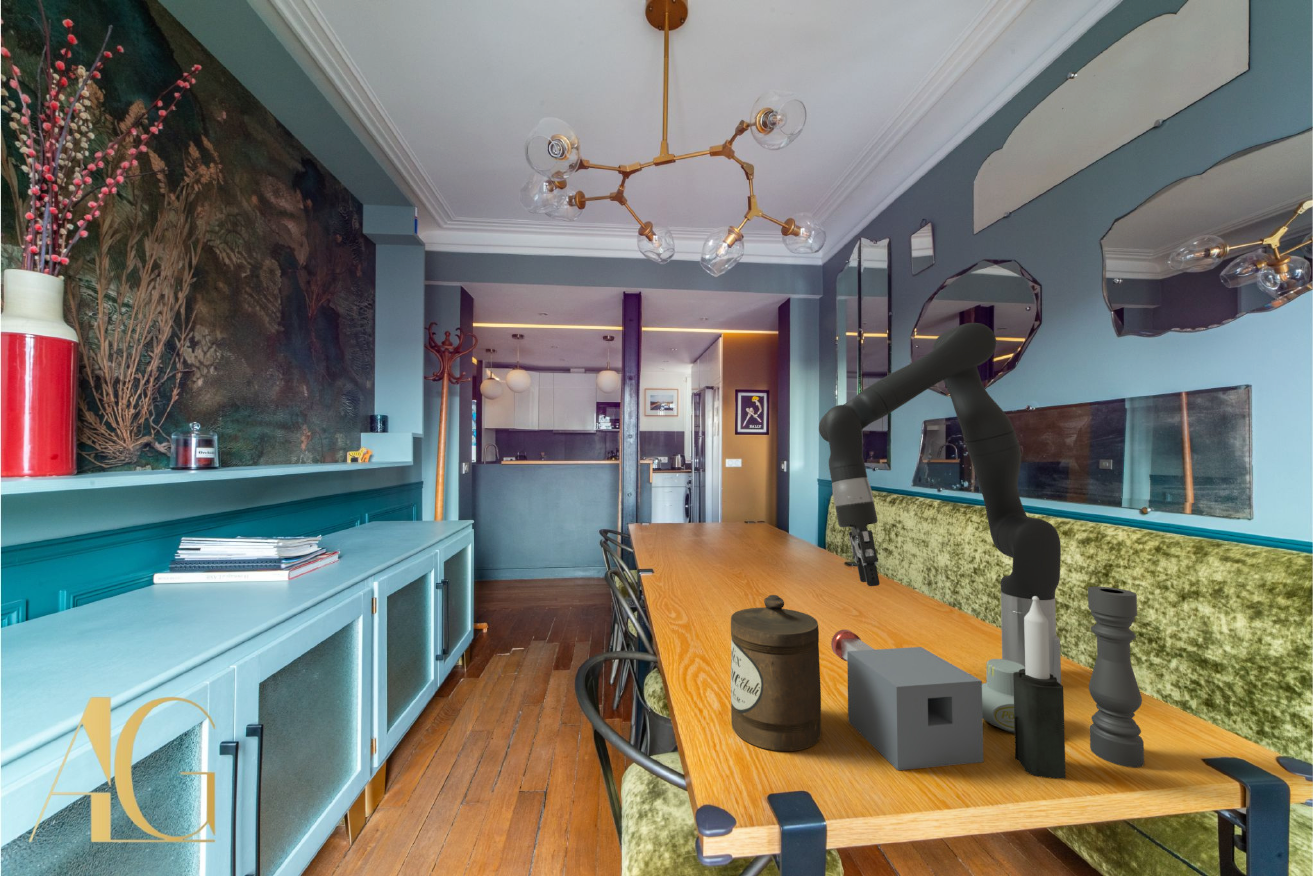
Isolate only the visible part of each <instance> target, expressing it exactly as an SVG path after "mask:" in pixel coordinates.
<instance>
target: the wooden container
mask: <svg viewBox="0 0 1313 876" xmlns="http://www.w3.org/2000/svg"><path fill="white" fill-rule="evenodd" d="M763 601H764V607H750V608H749V607H748V608H744V609H740V610H737V611H735V612H733V613H732V615H731V617H730V637H731V641H730V644H731V645H730V648H731V649H730V651H731V652H730V655H731V657H730V659H731V660H730V662H731V663H730V705H731V706H730V707H731V708H730V713H731V717H730V718H731V719H730V721H731V727H732V729H733V731H734V733H735V734H736V735H737V736H738V737H739V738H741V740H744V741H745V742H747V743H748V744H751V745H753V746H755V747H758V748H761V749H766V750H770V751H777V752H778V751H779V752H795V751H801V750H804V749H809V748H810V747H812V746H814V745H815V744H817V743H818V742H819V740H820V739H821V736H822V692H821V690H822V689H821V688H822V687H821V686H822V685H821V668H820V645H819V643H820V641H819V640H820V638H819V637H820V629H819V623H818V620H817V619H816V618H815V617H813V616H812V615H810V614H808V613H805V612H802V611H798V610H794V609H793V610H792V609H788V608H784V606H785V601H784V600H783V598H782V597H780V596H779V595H776V594H770V595H767V597H765V598H764V600H763Z"/></svg>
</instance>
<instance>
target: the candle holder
mask: <svg viewBox="0 0 1313 876" xmlns="http://www.w3.org/2000/svg"><path fill="white" fill-rule="evenodd" d="M1087 598H1088V599H1087V600H1088V602H1087V605H1088V609H1089V610H1090V614H1091V616H1092V617H1093V619H1094V621H1095V622H1096V624H1094V625H1092V626H1090V629H1091V632H1092V634H1094V635H1095V637H1096V651H1097V652H1096V653H1097V655H1096V659H1095V662H1094V664H1093V665H1094V666H1093V670H1092V673H1091V676H1090V681H1089V683H1088V690H1089V693H1090V696H1091V698H1092V699H1093V702H1095V704H1096V705H1095V706H1096V708H1097V711H1096V712H1095V713H1094V714H1092V715H1091V717H1090V718H1091V721H1092V724H1090V725H1089V745H1090V746H1089V747H1090V751H1091V752H1092V754H1094V755H1095V756H1096V757H1098V758H1100V759H1102V760H1104V761H1106V762H1108V763H1112V764H1115V765H1117V766H1121V767H1126V768H1141V767H1144V765H1145V752H1144V751H1145V746H1144V745H1145V744H1144V743H1145V742H1144V739H1143V738H1142V736H1140V735H1141V733H1142V731H1141V730H1142V729H1141V728H1140V727H1139V725H1138V723H1137V722H1136V721H1135V719H1134V717H1135V716H1136V714H1135V712H1137V711H1138V710H1139V709H1140V708H1141V705H1142V703H1143V698H1142V694H1141V692H1140V687H1139V686H1138V685H1139V684H1138V681H1137V678H1136V675H1135V672H1134V669H1133V666H1132V662H1131V643H1132V641H1134V640H1135V639H1136V638H1137V635H1136V633H1135V632H1134V631H1133V630H1131V629H1130V627H1132V625H1133V623H1134V622H1135V621H1136V617H1137V616H1138V599H1137V598H1138V595H1137V593H1136V592H1133V591H1131V590H1127V589H1122V588H1116V587H1109V586H1090V587H1087Z"/></svg>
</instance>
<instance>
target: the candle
mask: <svg viewBox="0 0 1313 876" xmlns="http://www.w3.org/2000/svg"><path fill="white" fill-rule="evenodd" d="M1032 600H1033V602H1032V605H1031V608H1030V611H1029V612H1028V613H1027V615H1026V616H1025V617H1024V634H1025V669H1020V670H1019V672H1014V673H1013V684H1014V729H1015V733H1014V758H1015V760H1016V761H1018V762H1019V764H1020V765H1021V766H1022V767H1023V769H1024V772H1025V773H1027V774H1029V775H1032V776H1034V777H1039V776H1040V777H1041V776H1042V777H1041V778H1048V779H1049V777H1051V778H1050V779H1057V778H1064V779H1066V743H1065V741H1066V739H1065V737H1066V735H1065V734H1066V733H1065V701H1064V699H1065V698H1064V695H1065V694H1064V686H1063V685H1062V683H1061V684H1060V683H1058V682H1057V678H1056V677H1053V675H1052V674H1050V668H1049V627H1048V620H1047V618H1046V617H1045V616H1044V615H1043V613H1042V610H1041V608H1040V605H1039V602H1038V601H1039V598H1038V597H1037V596H1034V597H1032Z"/></svg>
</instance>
